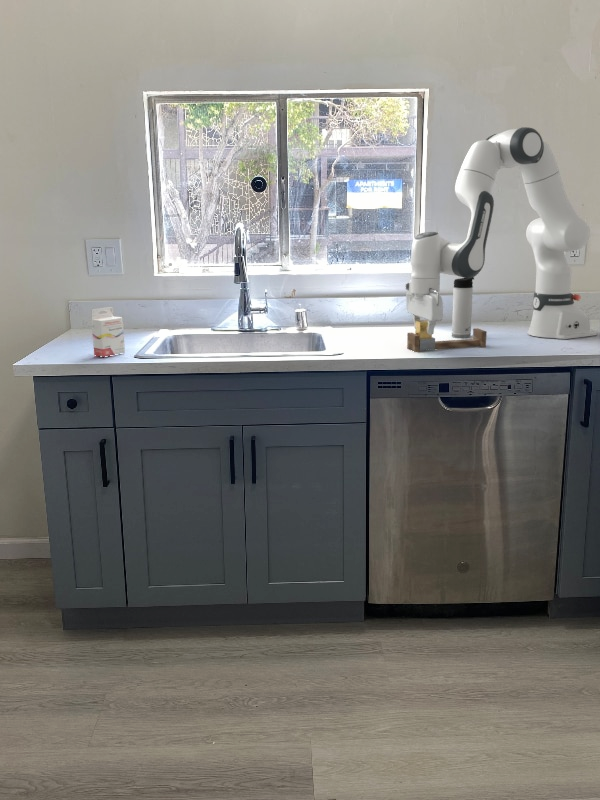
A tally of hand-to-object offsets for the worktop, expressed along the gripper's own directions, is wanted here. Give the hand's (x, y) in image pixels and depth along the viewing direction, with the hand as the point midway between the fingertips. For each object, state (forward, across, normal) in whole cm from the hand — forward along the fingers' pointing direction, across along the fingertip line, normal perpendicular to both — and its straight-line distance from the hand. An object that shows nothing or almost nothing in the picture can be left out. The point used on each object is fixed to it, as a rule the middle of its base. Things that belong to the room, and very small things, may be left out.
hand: (423, 331), depth 227 cm
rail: (+6, 0, -8) cm, 10 cm away
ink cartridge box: (+6, +24, +95) cm, 98 cm away
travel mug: (+6, +16, -21) cm, 27 cm away
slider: (+6, 0, 0) cm, 6 cm away
